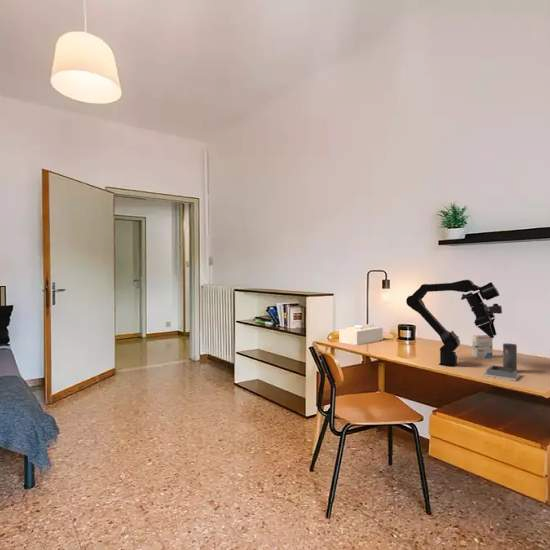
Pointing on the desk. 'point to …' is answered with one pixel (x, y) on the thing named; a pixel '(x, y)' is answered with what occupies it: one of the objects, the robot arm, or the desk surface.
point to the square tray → (502, 372)
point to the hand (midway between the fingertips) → (494, 336)
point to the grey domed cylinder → (510, 355)
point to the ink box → (481, 346)
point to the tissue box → (360, 334)
